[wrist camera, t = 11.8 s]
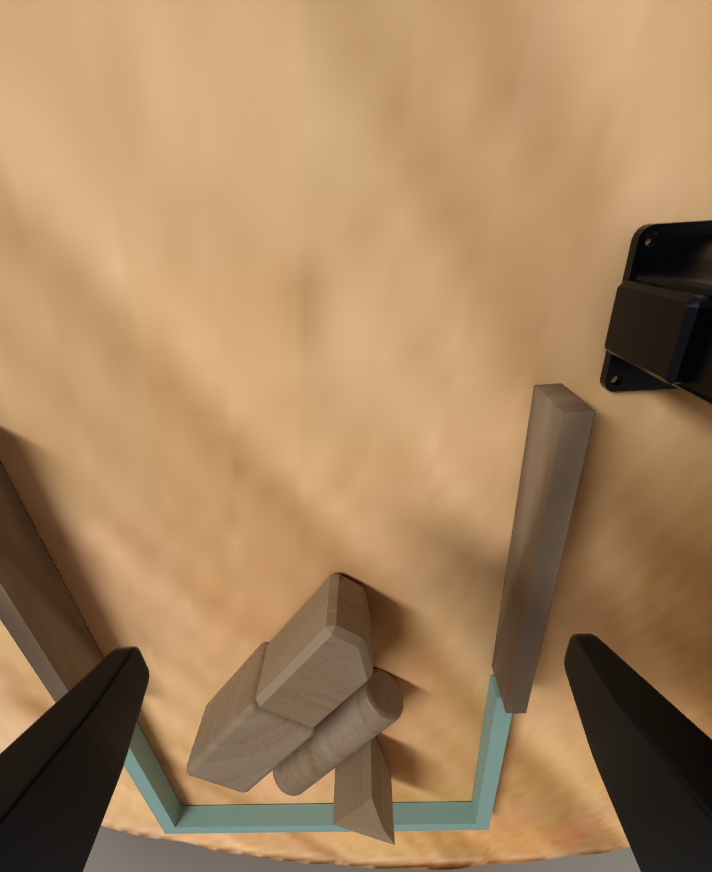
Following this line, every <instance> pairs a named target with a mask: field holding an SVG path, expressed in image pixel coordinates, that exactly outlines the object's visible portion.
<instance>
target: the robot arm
mask: <svg viewBox="0 0 712 872" xmlns="http://www.w3.org/2000/svg"><path fill="white" fill-rule="evenodd" d="M649 233H652V240H651V242H650V243H649V244H648V245H645V238H646V236H647V235H648V234H649ZM605 348H606V349H607V351H606V356H605V360H604V364H603V369H602V373H601V378H600V383H601V385H602V386H603V387H605V388H606V389H608V390H609V391H614V392H616V391H637V390H658V389H681V390H683V391H685V392H687V393H688V394H690V395H692V396H694V397H696V398H698V399H700V400H702V401H704V402H706V403H707V404H709V405H711V406H712V220H706V221H690V222H673V223H657V224H647V225H643V226H642V227H640V228H639V229H638V230H637V231H636V232H635V234H634V236H633V238H632V241H631V245H630V250H629V254H628V259H627V263H626V267H625V272H624V276H623V281H622V283H621V285H620V286H619V287H618V289H617V293H616V298H615V302H614V307H613V311H612V316H611V320H610V325H609V329H608V334H607V338H606V342H605ZM616 375H618V378H617V380H616V381H615V382H613V383H611V380H612V378H613V377H614V376H616ZM564 665H565V671H566V674H567V677H568V680H569V684H570V687H571V690H572V693H573V696H574V699H575V703H576V706H577V709H578V712H579V715H580V718H581V722H582V725H583V728H584V731H585V734H586V737H587V741H588V744H589V746H590V749H591V752H592V755H593V758H594V760H595V763H596V766H597V768H598V771H599V773H600V775H601V778H602V780H603V783H604V785H605V787H606V790H607V792H608V794H609V797H610V799H611V802H612V804H613V806H614V809H615V811H616V813H617V816H618V818H619V821H620V823H621V825H622V828H623V830H624V833H625V835H626V837H627V840H628V842H629V844H630V847H631V849H632V852H633V854H634V856H635V859H636V861H637V863H638V866H639V868H640V871H641V872H712V739H710V738H709V737H708V736H707V735H706V734H705V733H704V732H703V731H702V730H700V729H699V728H698V727H697V726H696V725H695V724H694V723H693V722H691V721H690V720H689V719H688V718H687V717H686V716H685V715H684V714H683V713H681V712H680V711H679V710H678V709H677V708H676V707H675V706H674V705H673V704H671V703H670V702H669V701H668V700H667V699H666V698H665V697H664V696H662V695H661V694H660V693H659V692H658V691H657V690H656V689H655V688H654V687H652V686H651V685H650V684H649V683H648V682H647V681H646V680H645V679H644V678H642V677H641V676H640V675H639V674H638V673H637V672H636V671H635V670H633V669H632V668H631V667H630V666H629V665H628V664H627V663H626V662H625V661H623V660H622V659H621V658H620V657H619V656H618V655H617V654H616V653H615V652H613V651H612V650H611V649H610V648H609V647H608V646H607V645H606V644H604V643H603V642H602V641H601V640H600V639H599V638H598V637H596V636H595V635H593V634H573V635H572V636H571V638H570V641H569V644H568V648H567V651H566V655H565V660H564ZM148 681H149V670H148V667H147V665H146V663H145V661H144V658H143V656H142V654H141V652H140V650H139V648H137V647H118V648H116V649H115V650H113V651H112V652H111V653H110V654H109V655H107V656H106V657H105V658H104V659H103V660H102V661H101V662H100V663H99V664H98V665H97V666H95V667H94V668H93V669H92V670H91V671H90V672H89V673H88V674H87V675H86V676H85V677H83V678H82V679H81V680H80V681H79V682H78V683H77V684H76V685H75V686H74V687H73V688H71V689H70V690H69V691H68V692H67V693H66V694H65V695H64V696H63V697H62V698H61V699H60V700H58V701H57V702H56V703H55V704H54V705H53V706H52V707H51V708H50V709H49V710H48V711H46V712H45V713H44V714H43V715H42V716H41V717H40V718H39V719H38V720H37V721H36V722H34V723H33V724H32V725H31V726H30V727H29V728H28V729H27V730H26V731H25V732H24V733H22V734H21V735H20V736H19V737H18V738H17V739H16V740H15V741H14V742H13V743H12V744H11V745H9V746H8V747H7V748H6V749H5V750H4V751H3V752H2V753H1V754H0V872H83V870H84V867H85V864H86V862H87V859H88V857H89V854H90V851H91V849H92V846H93V844H94V841H95V839H96V836H97V833H98V831H99V828H100V826H101V823H102V821H103V818H104V816H105V813H106V810H107V808H108V805H109V803H110V800H111V798H112V795H113V792H114V790H115V787H116V785H117V782H118V779H119V777H120V774H121V771H122V769H123V766H124V763H125V760H126V757H127V753H128V750H129V747H130V743H131V740H132V736H133V733H134V730H135V726H136V723H137V719H138V716H139V712H140V709H141V705H142V702H143V699H144V695H145V692H146V688H147V685H148Z"/></svg>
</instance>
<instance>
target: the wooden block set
mask: <svg viewBox="0 0 712 872" xmlns="http://www.w3.org/2000/svg"><path fill="white" fill-rule="evenodd" d="M402 710H403V696H402V693H401V690H400V688H399V686H398V684H397V683H396V681H395V680H394V679H393V677H392V676H391V675H389V674H388V673H387V672H385V671H383V670H381V669H373V645H372V617H371V613H370V609H369V605H368V601H367V597H366V593H365V590H364V589H363V588H362V587H361V585H359V584H357V583H355V582H353V581H351V580H349V579H347V578H345V577H344V576H342V575H340V574H337V573H335V574H333V575H330V576H329V577H328V578H327V580H326V581H325V582H324V583H323V584H322V585H321V586H320V587H319V588H318V590H317V591H316V592H315V593H314V594H313V595H312V596H311V597H310V598H309V599H308V601H307V602H306V603H305V604H304V605H303V606H302V607H301V608H300V609H299V611H298V612H297V613H296V614H295V615H294V616H293V617H292V618H291V619H290V620H289V622H288V623H287V624H286V625H285V626H284V627H283V628H282V629H281V630H280V632H279V633H278V634H277V635H276V636H275V637H274V638H273V639H272V640H271V641H270V642H264V643H262V644H261V645H260V646H259V647H258V648H257V649H256V650H255V652H254V653H253V654H252V655H251V656H250V657H249V658H248V659H247V661H246V662H245V663H244V664H243V665H242V666H241V667H240V668H239V669H238V671H237V672H236V673H235V674H234V675H233V676H232V677H231V678H230V680H229V681H228V682H227V683H226V684H225V685H224V686H223V687H222V688H221V690H220V691H219V692H218V693H217V694H216V695H215V696H214V697H213V699H212V700H211V701H210V702H209V703H208V704H207V705H206V708H205V711H204V714H203V717H202V720H201V723H200V726H199V730H198V733H197V736H196V739H195V742H194V745H193V748H192V751H191V754H190V757H189V761H188V764H187V773H188V774H189V775H190V776H193V777H196V778H199V779H203V780H206V781H209V782H212V783H215V784H218V785H221V786H224V787H227V788H230V789H233V790H236V791H239V792H242V793H243V792H247V791H249V790H250V789H251V788H252V787H253V786H254V785H256V784H257V783H258V782H259V781H260V780H261V779H263V778H264V777H265V776H266V775H267V774H268V773H270V772H271V771H272V770H273V776H274V779H275V782H276V784H277V786H278V787H279V789H280V790H281V791H282V792H284V793H285V794H288V795H291V796H296V795H299V794H301V793H303V792H304V791H305V790H307V789H308V788H309V787H310V786H312V785H313V784H314V783H316V782H317V781H318V780H320V779H321V778H322V777H323V776H325V775H326V774H327V773H329V772H330V771H331V770H332V769H334V768H335V787H334V808H333V825H335V826H338V827H341V828H344V829H348V830H351V831H354V832H357V833H360V834H363V835H366V836H369V837H372V838H375V839H378V840H381V841H384V842H387V843H391V844H394V845H395V841H394V822H393V803H392V785H391V773H390V770H389V767H388V764H387V761H386V759H385V756H384V754H383V752H382V749H381V747H380V745H379V742H378V740H377V738H376V736H377V735H378V734H379V733H380V732H382V731H383V730H384V729H386V728H387V727H388V726H390V725H391V724H392V723H393V722H395V721H396V720H397V719H398V718H399V717H400V715H401V713H402Z"/></svg>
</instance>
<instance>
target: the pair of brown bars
mask: <svg viewBox="0 0 712 872" xmlns="http://www.w3.org/2000/svg"><path fill="white" fill-rule="evenodd" d="M594 415H595V410H593V409H592V408H591V407H590V406H588V405H587V404H586V403H585V402H583V401H582V400H581V399H580V398H579V397H577V396H576V395H575V394H574V393H572V392H571V391H570V390H569V389H567V388H566V387H565V386H564V385H563V384H545V385H534V391H533V397H532V404H531V410H530V417H529V424H528V430H527V437H526V444H525V450H524V457H523V464H522V470H521V477H520V483H519V490H518V497H517V503H516V510H515V517H514V523H513V530H512V536H511V543H510V550H509V556H508V563H507V570H506V576H505V583H504V589H503V596H502V603H501V609H500V616H499V623H498V629H497V636H496V643H495V649H494V656H493V662H492V668H493V671H494V675H495V678H496V682H497V685H498V688H499V692H500V695H501V699H502V702H503V705H504V709H505V712H506V713H526V710H527V706H528V702H529V697H530V693H531V689H532V684H533V680H534V676H535V671H536V667H537V662H538V658H539V654H540V649H541V645H542V641H543V636H544V632H545V628H546V623H547V619H548V615H549V610H550V606H551V602H552V597H553V593H554V589H555V584H556V580H557V576H558V571H559V567H560V562H561V558H562V554H563V549H564V545H565V541H566V536H567V532H568V528H569V523H570V519H571V515H572V510H573V506H574V502H575V497H576V493H577V489H578V484H579V480H580V475H581V471H582V467H583V462H584V458H585V454H586V449H587V445H588V441H589V436H590V432H591V428H592V423H593V419H594ZM0 619H1V621H2V622H3V624H4V625H5V627H6V628H7V630H8V631H9V633H10V634H11V636H12V637H13V639H14V640H15V642H16V644H17V645H18V647H19V648H20V650H21V651H22V653H23V654H24V656H25V657H26V659H27V660H28V662H29V663H30V665H31V666H32V668H33V669H34V671H35V672H36V674H37V675H38V677H39V678H40V680H41V681H42V683H43V684H44V686H45V687H46V689H47V690H48V692H49V693H50V695H51V696H52V698H53V699H54V701H55V702H57V701H58V700H60V699H61V698H62V697H63V696H64V695H65V694H66V693H67V692H68V691H69V690H70V689H71V688H73V687H74V686H75V685H76V684H77V683H78V682H79V681H80V680H81V679H82V678H83V677H85V676H86V675H87V674H88V673H89V672H90V671H91V670H92V669H93V668H94V667H95V666H97V665H98V664H99V663H100V662H101V661H102V660H103V659H104V658H103V656H102V654H101V652H100V650H99V648H98V646H97V644H96V643H95V641H94V639H93V637H92V635H91V633H90V631H89V629H88V627H87V626H86V624H85V622H84V620H83V618H82V616H81V614H80V612H79V610H78V609H77V607H76V605H75V603H74V601H73V599H72V597H71V595H70V593H69V591H68V590H67V588H66V586H65V584H64V582H63V580H62V578H61V576H60V574H59V573H58V571H57V569H56V567H55V565H54V563H53V561H52V559H51V557H50V555H49V554H48V552H47V550H46V548H45V546H44V544H43V542H42V540H41V538H40V537H39V535H38V533H37V531H36V529H35V527H34V525H33V523H32V521H31V519H30V518H29V516H28V514H27V512H26V510H25V508H24V506H23V504H22V502H21V501H20V499H19V497H18V495H17V493H16V491H15V489H14V487H13V485H12V484H11V482H10V480H9V478H8V476H7V474H6V472H5V470H4V468H3V466H2V465H1V463H0Z"/></svg>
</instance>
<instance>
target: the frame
mask: <svg viewBox="0 0 712 872" xmlns="http://www.w3.org/2000/svg"><path fill="white" fill-rule="evenodd" d="M511 718H512V713H506V712H505V709H504V705H503V702H502V699H501V695H500V692H499V688H498V685H497V682H496V678H495V675H491V676H490V682H489V689H488V696H487V702H486V709H485V715H484V722H483V729H482V735H481V742H480V749H479V755H478V762H477V768H476V775H475V782H474V788H473V795H472V802H415V803H393V822H394V831H433V830H489V826H490V821H491V816H492V811H493V806H494V801H495V796H496V791H497V786H498V782H499V777H500V772H501V767H502V762H503V757H504V752H505V747H506V742H507V737H508V733H509V728H510V723H511ZM124 766H125V768H126V770H127V771H128V773H129V775H130V776H131V778H132V780H133V781H134V783H135V785H136V786H137V788H138V790H139V791H140V793H141V794H142V796H143V798H144V799H145V801H146V803H147V804H148V806H149V808H150V809H151V811H152V813H153V814H154V816H155V818H156V819H157V821H158V822H159V824H160V826H161V827H162V829H163V831H164V832H165V834H177V833H262V832H348V831H351V830H348V829H344V828H341V827H338V826H335V825H333V808H334V804H274V805H203V806H182V805H181V804H180V802H179V800H178V798H177V796H176V794H175V792H174V790H173V788H172V787H171V785H170V783H169V781H168V779H167V777H166V775H165V773H164V771H163V769H162V768H161V766H160V764H159V762H158V760H157V758H156V756H155V754H154V752H153V751H152V749H151V747H150V745H149V743H148V741H147V739H146V737H145V735H144V733H143V732H142V730H141V728H140V726H139V724H138V722H137V723H136V726H135V730H134V733H133V736H132V740H131V743H130V747H129V750H128V753H127V757H126V760H125V763H124Z"/></svg>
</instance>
